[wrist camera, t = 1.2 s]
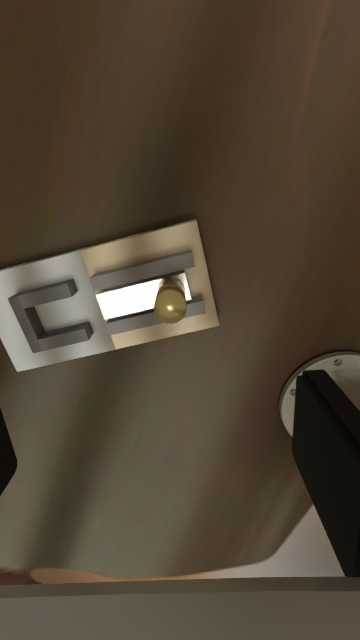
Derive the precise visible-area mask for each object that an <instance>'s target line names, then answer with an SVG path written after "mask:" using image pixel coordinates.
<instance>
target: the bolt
mask: <svg viewBox="0 0 360 640" xmlns="http://www.w3.org/2000/svg"><path fill="white" fill-rule="evenodd" d="M96 297H97V300H98V303H99V306H100V309H101V311H102V314H103V317H104V320H106V319H110V318H114V317H118V316H123V315H127V314H131V313H135V312H139V311H144V310H148V309H152V308H154V313H155V315H156V317H157V318H158V319H159V320H160V321H162V322H164V323H168V324H173V323H177V322H179V321H180V320H182V319H183V318H184V316H185V314H186V311H187V305H186V300H190V299H191V295H190V290H189V286H188V282H187V278H186V274H185V270H184V269H183V270H179V271H175V272H171V273H167V274H163V275H159V276H155V277H151V278H147V279H143V280H139V281H135V282H131V283H126V284H122V285H118V286H114V287H110V288H106V289H102V290H99V291H98V293H97V294H96Z"/></svg>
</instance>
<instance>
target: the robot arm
mask: <svg viewBox="0 0 360 640" xmlns="http://www.w3.org/2000/svg"><path fill="white" fill-rule="evenodd" d="M279 411H280V416H281V419H282V422H283V424H284V426H285V428H286V430H287V431H288V432H289V434H290V435H291V436H292V437H293V438H292V452H293V457H294V460H295V462H296V464H297V467H298V469H299V471H300V474H301V476H302V478H303V480H304V483H305V485H306V487H307V490H308V492H309V494H310V497H311V499H312V501H313V503H314V506H315V508H316V510H317V513H318V515H319V517H320V519H321V522H322V524H323V526H324V529H325V530H326V533H327V536H328V538H329V540H330V542H331V545H332V547H333V549H334V552H335V554H336V556H337V559H338V561H339V563H340V566H341V568H342V570H343V572H344V574H345V576H346V577H267V578H266V577H263V578H262V577H261V578H225V579H193V580H158V581H124V582H96V583H66V584H38V585H11V586H0V640H360V353H357V352H349V351H343V352H333V353H329V354H325V355H322V356H319V357H317V358H314V359H312V360H311V361H309V362H307V363H306V364H304V365H303V366H302V367H300V368H299V369H298V370H297V371H295V373H294V374H293V375H292V376H291V377H290V378H289V379H288V381H287V383H286V384H285V386H284V388H283V390H282V393H281V396H280V402H279ZM16 468H17V458H16V455H15V452H14V449H13V446H12V443H11V440H10V437H9V433H8V430H7V427H6V424H5V421H4V418H3V415H2V412H1V408H0V496H1V494H2V492H3V491H4V489H5V488H6V486H7V485H8V483H9V481H10V480H11V478H12V477H13V475H14V473H15V471H16Z"/></svg>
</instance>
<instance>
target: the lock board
mask: <svg viewBox="0 0 360 640" xmlns="http://www.w3.org/2000/svg"><path fill="white" fill-rule="evenodd" d="M183 269H184V270H185V274H186V278H187V282H188V286H189V290H190V295H191V299H190V300H186V305H187V311H186V314H185V316H184V318H183V319H182V320H180V321H179V322H177V323H173V324H168V323H164V322H162V321H160V320H159V319H158V318H157V317H156V315H155V313H154V308H152V309H148V310H144V311H139V312H135V313H131V314H127V315H123V316H118V317H114V318H110V319H106V320H104V317H103V314H102V311H101V309H100V306H99V303H98V300H97V297H96V294H97V293H98V291H99V290H102V289H106V288H110V287H114V286H118V285H122V284H126V283H131V282H135V281H139V280H143V279H147V278H151V277H155V276H159V275H163V274H167V273H171V272H175V271H179V270H183ZM215 326H219V322H218V317H217V312H216V308H215V303H214V298H213V294H212V289H211V285H210V280H209V275H208V271H207V266H206V261H205V257H204V252H203V248H202V243H201V238H200V234H199V229H198V224H197V220H196V219H194V220H190V221H186V222H182V223H179V224H175V225H171V226H167V227H163V228H159V229H155V230H151V231H147V232H144V233H140V234H136V235H132V236H128V237H124V238H120V239H116V240H112V241H109V242H105V243H101V244H97V245H93V246H89V247H85V248H81V249H77V250H74V251H70V252H66V253H62V254H58V255H54V256H50V257H46V258H42V259H39V260H35V261H31V262H27V263H23V264H19V265H15V266H11V267H7V268H4V269H0V338H1V340H2V342H3V344H4V346H5V348H6V350H7V352H8V354H9V356H10V358H11V360H12V362H13V364H14V366H15V368H16V370H17V372H19V371H24V370H28V369H32V368H37V367H41V366H45V365H50V364H54V363H59V362H63V361H67V360H72V359H76V358H80V357H85V356H89V355H93V354H98V353H102V352H106V351H111V350H115V349H120V348H124V347H128V346H133V345H137V344H141V343H146V342H150V341H154V340H159V339H163V338H167V337H172V336H176V335H181V334H185V333H189V332H194V331H198V330H202V329H207V328H211V327H215Z"/></svg>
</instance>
